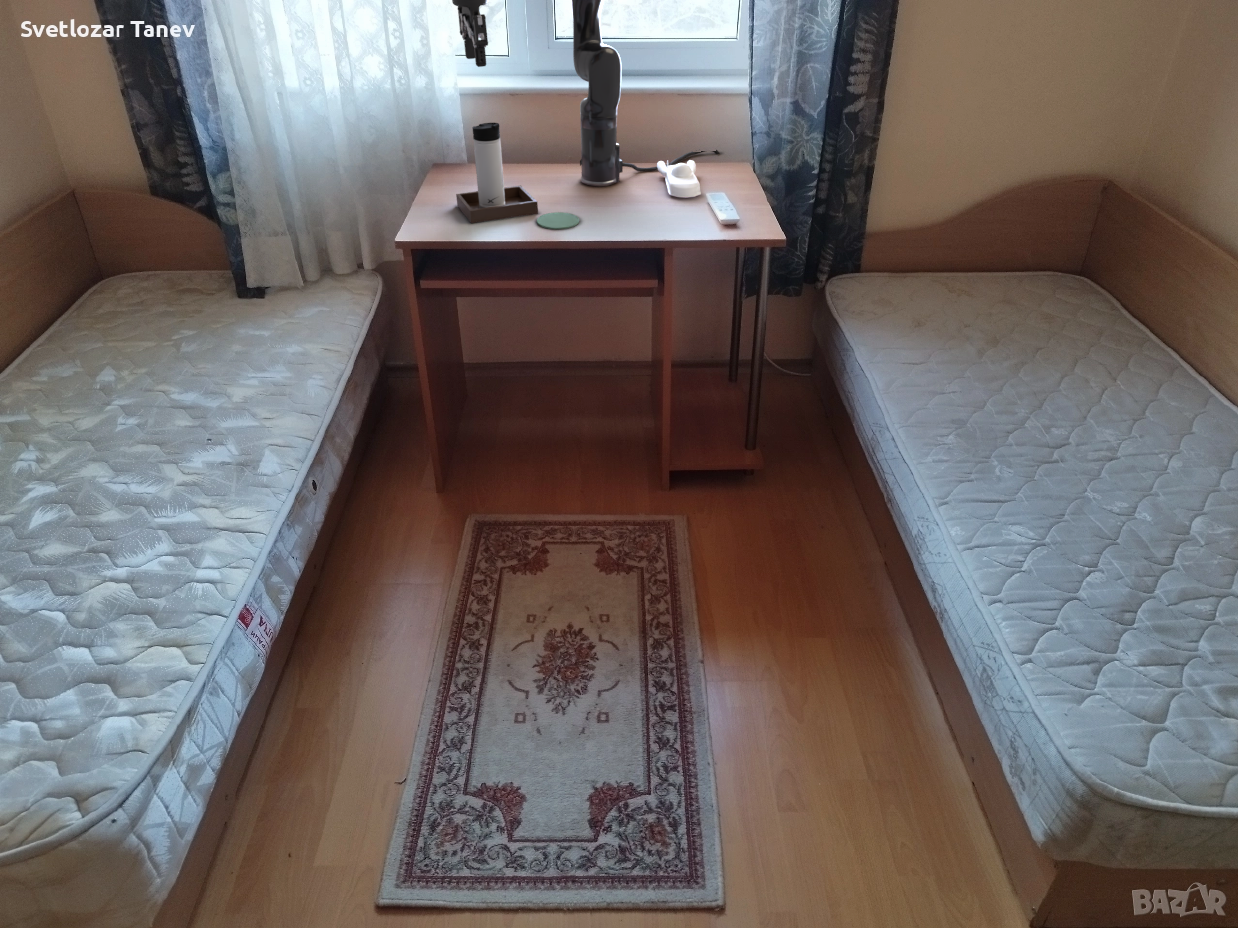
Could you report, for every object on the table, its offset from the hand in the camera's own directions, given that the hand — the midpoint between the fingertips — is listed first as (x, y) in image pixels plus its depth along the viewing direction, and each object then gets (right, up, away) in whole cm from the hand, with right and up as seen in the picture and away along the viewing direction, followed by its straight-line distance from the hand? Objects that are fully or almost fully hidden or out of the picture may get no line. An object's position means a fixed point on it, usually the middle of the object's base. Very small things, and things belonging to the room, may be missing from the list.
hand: (476, 62), depth 193 cm
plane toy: (+48, -17, +34) cm, 61 cm away
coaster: (+17, -31, +14) cm, 38 cm away
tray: (+2, -27, +20) cm, 33 cm away
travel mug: (+1, -27, +19) cm, 33 cm away
